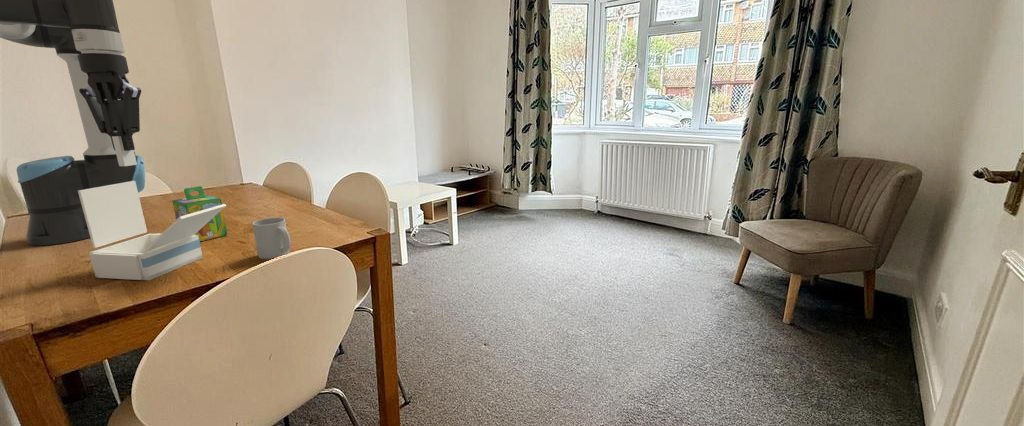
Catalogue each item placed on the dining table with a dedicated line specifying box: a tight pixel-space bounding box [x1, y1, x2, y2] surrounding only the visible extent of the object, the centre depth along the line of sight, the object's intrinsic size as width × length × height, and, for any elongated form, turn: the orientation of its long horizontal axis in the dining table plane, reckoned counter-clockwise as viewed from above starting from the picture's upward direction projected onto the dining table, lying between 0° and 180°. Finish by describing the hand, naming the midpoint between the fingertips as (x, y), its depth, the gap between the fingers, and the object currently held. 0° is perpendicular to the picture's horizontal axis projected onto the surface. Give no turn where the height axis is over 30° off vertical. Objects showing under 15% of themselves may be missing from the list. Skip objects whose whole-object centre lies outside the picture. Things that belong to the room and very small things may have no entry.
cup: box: [252, 217, 292, 260], centre depth 108 cm, size 7×10×9 cm
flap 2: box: [145, 203, 227, 251], centre depth 97 cm, size 1×12×13 cm
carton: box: [88, 232, 204, 281], centre depth 101 cm, size 14×15×6 cm
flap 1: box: [78, 181, 148, 249], centre depth 99 cm, size 1×12×13 cm, turn 171°
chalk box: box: [171, 185, 228, 242], centre depth 123 cm, size 9×9×15 cm
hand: (128, 165), depth 95 cm, fingers closed
